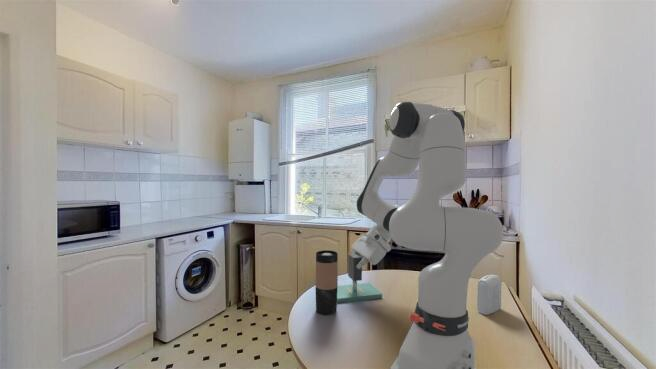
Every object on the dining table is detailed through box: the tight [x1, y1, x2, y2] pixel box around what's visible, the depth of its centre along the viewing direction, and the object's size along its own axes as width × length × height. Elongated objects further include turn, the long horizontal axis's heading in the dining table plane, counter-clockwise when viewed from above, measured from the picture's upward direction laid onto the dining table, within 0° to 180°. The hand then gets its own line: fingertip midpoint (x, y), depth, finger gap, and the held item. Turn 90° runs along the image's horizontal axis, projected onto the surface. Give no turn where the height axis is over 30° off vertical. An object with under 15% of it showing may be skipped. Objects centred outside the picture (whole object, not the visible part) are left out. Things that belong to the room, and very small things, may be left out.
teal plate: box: [337, 280, 383, 304], centre depth 112 cm, size 12×18×6 cm, turn 105°
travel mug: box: [315, 249, 339, 316], centre depth 98 cm, size 8×8×20 cm
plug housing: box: [347, 253, 363, 282], centre depth 112 cm, size 6×3×9 cm, turn 15°
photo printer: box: [476, 274, 503, 316], centre depth 99 cm, size 10×4×12 cm, turn 123°
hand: (353, 264), depth 112 cm, fingers closed on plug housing, 6 cm apart
